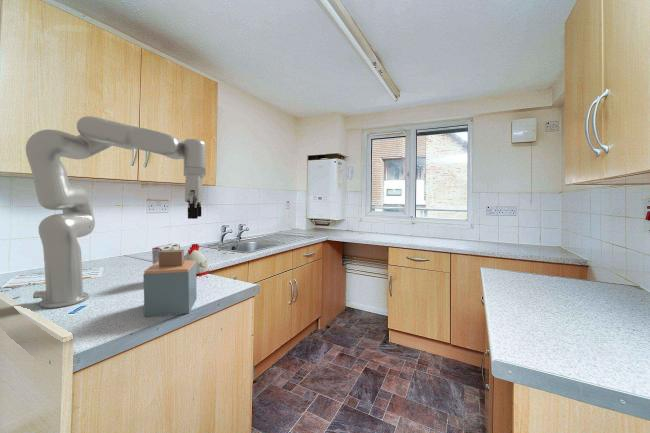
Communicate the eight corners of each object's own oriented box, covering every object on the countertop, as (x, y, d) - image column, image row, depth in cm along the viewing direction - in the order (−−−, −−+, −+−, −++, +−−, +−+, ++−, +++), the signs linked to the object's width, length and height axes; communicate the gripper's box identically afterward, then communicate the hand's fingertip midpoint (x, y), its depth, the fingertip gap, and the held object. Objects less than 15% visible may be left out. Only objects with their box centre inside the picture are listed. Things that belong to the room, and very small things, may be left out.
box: (144, 317, 86) (143, 274, 85) (157, 301, 98) (157, 264, 97) (189, 313, 89) (188, 272, 88) (196, 298, 102) (196, 262, 101)
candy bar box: (171, 277, 127) (171, 243, 126) (181, 278, 126) (180, 243, 125) (152, 284, 116) (151, 247, 115) (162, 285, 115) (161, 248, 114)
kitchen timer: (214, 270, 140) (214, 242, 139) (198, 278, 127) (198, 247, 125) (189, 269, 142) (189, 241, 141) (171, 276, 128) (171, 245, 127)
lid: (144, 278, 85) (143, 255, 85) (157, 268, 97) (157, 247, 97) (188, 276, 89) (187, 254, 88) (195, 266, 101) (195, 247, 100)
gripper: (188, 174, 109) (188, 215, 110) (178, 170, 93) (179, 219, 94) (208, 175, 111) (208, 215, 113) (202, 171, 95) (202, 219, 96)
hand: (194, 217), depth 103 cm, fingers open, 9 cm apart
